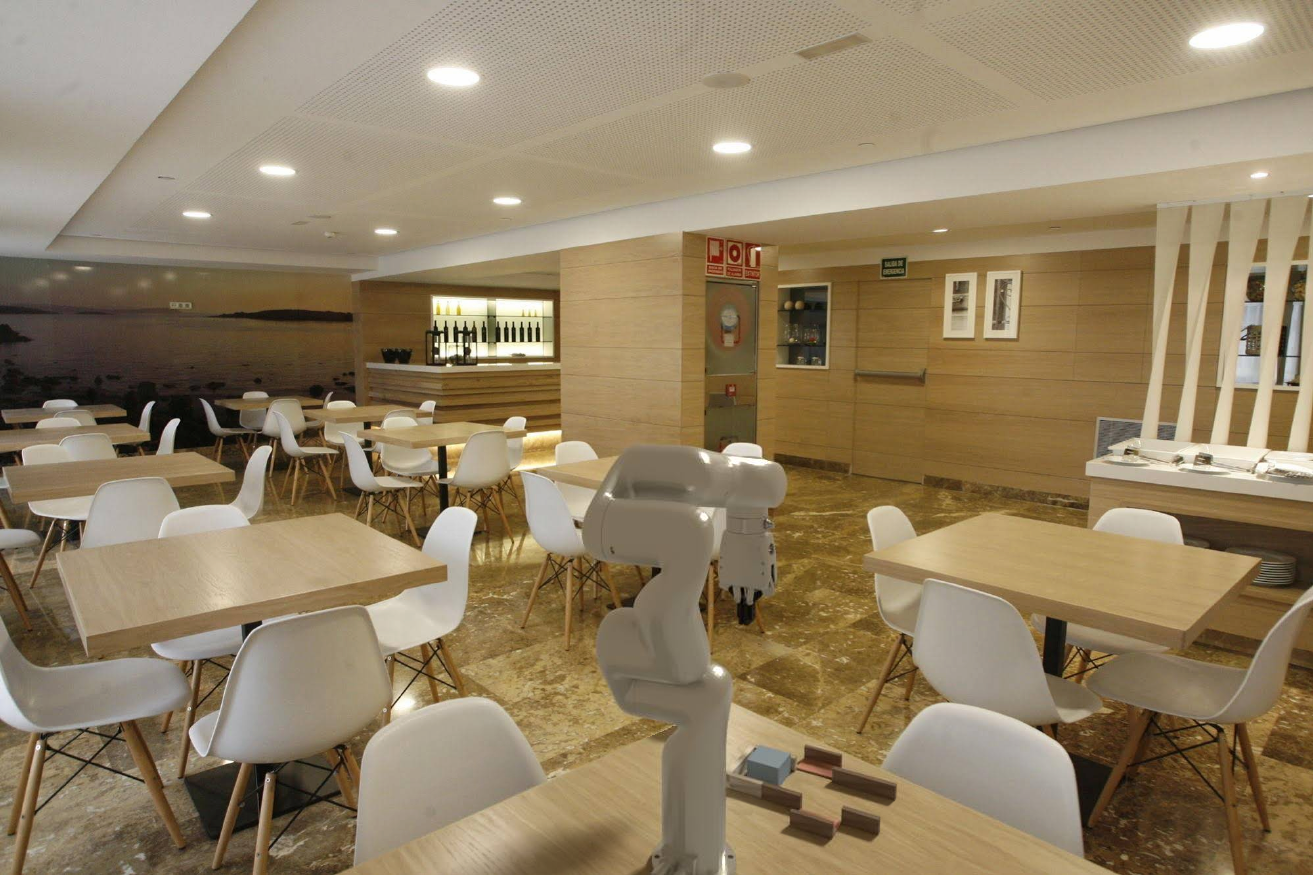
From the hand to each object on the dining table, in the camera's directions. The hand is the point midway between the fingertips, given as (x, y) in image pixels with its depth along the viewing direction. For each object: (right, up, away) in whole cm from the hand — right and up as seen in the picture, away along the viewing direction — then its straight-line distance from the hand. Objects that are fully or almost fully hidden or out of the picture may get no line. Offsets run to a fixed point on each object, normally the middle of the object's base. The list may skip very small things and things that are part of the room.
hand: (746, 622), depth 139 cm
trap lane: (+10, -28, -7) cm, 30 cm away
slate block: (+4, -28, -2) cm, 28 cm away
